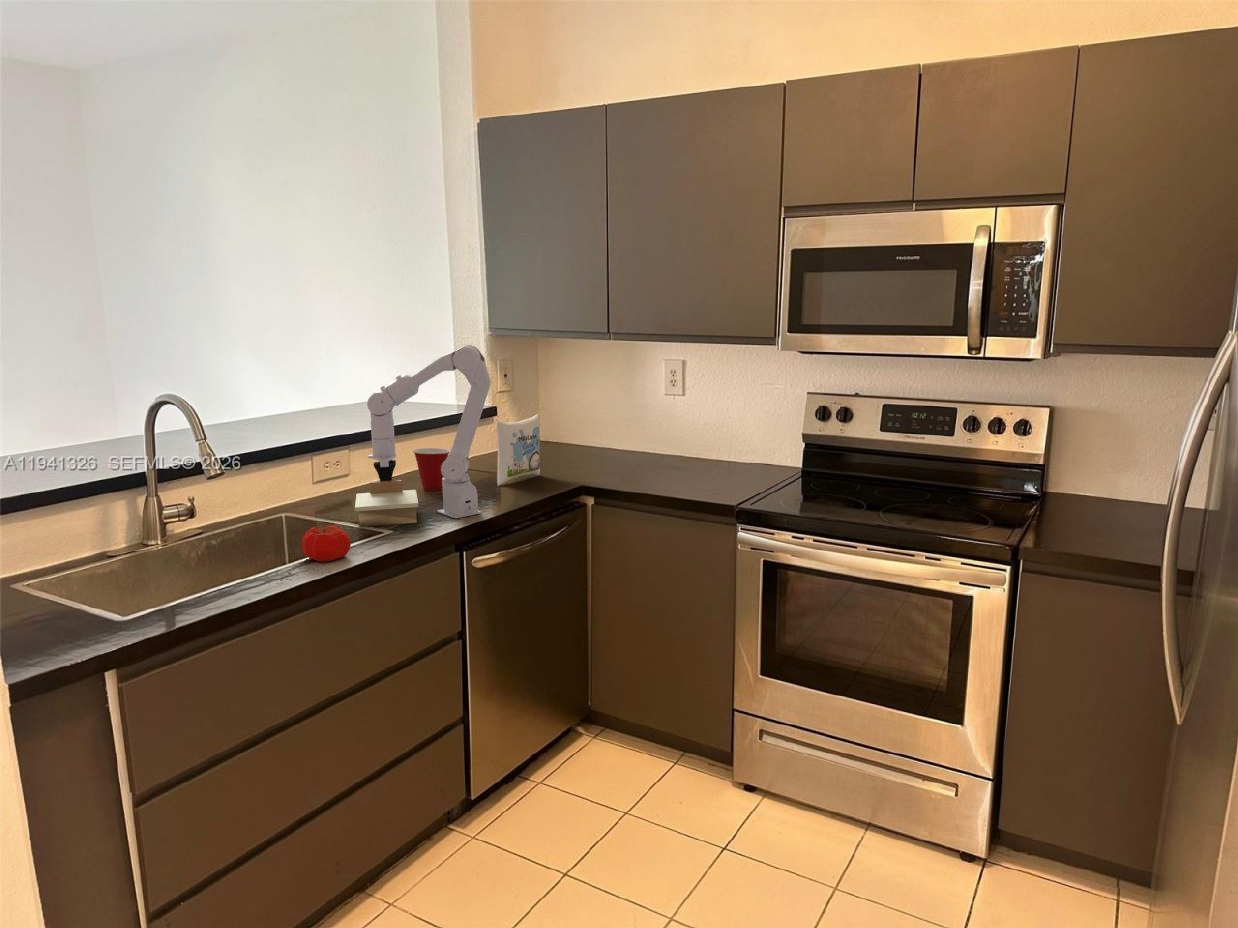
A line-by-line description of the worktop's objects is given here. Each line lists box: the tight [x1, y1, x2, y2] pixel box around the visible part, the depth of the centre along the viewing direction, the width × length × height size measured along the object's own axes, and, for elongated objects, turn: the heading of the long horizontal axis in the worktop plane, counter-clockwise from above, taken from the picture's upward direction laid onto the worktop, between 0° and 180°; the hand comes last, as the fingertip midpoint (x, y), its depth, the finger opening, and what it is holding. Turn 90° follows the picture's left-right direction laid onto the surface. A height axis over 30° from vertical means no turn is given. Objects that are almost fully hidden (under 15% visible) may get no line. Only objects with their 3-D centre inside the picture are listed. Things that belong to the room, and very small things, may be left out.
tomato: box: [301, 525, 352, 563], centre depth 190 cm, size 10×11×7 cm
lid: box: [354, 479, 419, 512], centre depth 218 cm, size 15×15×4 cm
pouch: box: [496, 413, 541, 487], centre depth 264 cm, size 8×19×20 cm, turn 141°
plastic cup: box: [412, 447, 451, 492], centre depth 255 cm, size 11×11×12 cm
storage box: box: [357, 507, 418, 528], centre depth 223 cm, size 14×14×5 cm
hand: (386, 488), depth 226 cm, fingers closed
